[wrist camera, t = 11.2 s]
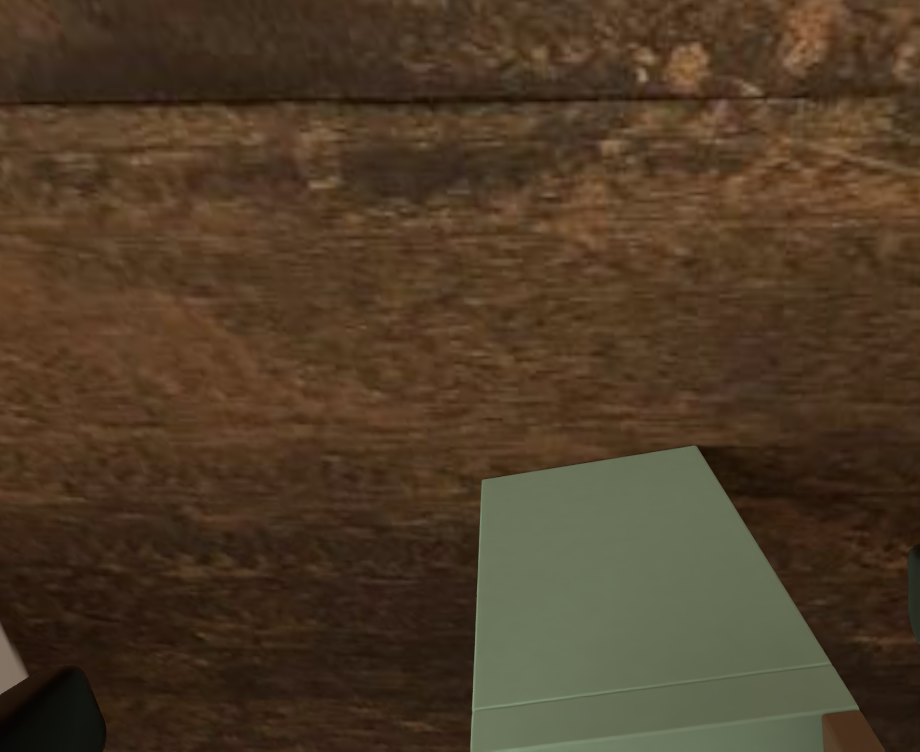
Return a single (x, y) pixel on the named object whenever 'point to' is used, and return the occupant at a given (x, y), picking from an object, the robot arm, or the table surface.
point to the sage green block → (642, 621)
